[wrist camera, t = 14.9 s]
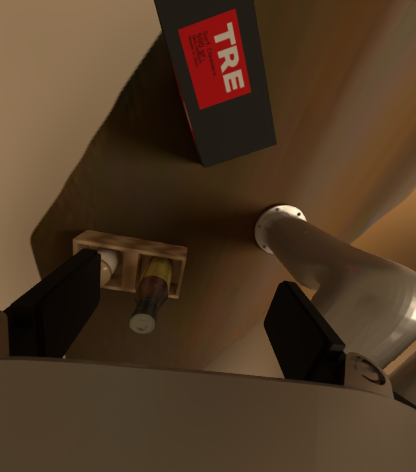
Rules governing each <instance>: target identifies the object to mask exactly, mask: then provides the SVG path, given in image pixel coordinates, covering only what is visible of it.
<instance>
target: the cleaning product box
mask: <svg viewBox="0 0 416 472" xmlns="http://www.w3.org/2000/svg"><path fill="white" fill-rule="evenodd" d="M154 3H155V6H156V10H157V14H158V18H159V21H160V25H161V29H162V33H163V36H164V40H165V44H166V48H167V51H168V55H169V59H170V63H171V66H172V70H173V74H174V77H175V80H176V84H177V87H178V90H179V94H180V97H181V100H182V104H183V107H184V110H185V114H186V117H187V120H188V124H189V127H190V130H191V133H192V137H193V140H194V143H195V147H196V150H197V153H198V157H199V160H200V163H201V165H202V166H203V167H204V168H206V167H209V166H212V165H215V164H218V163H221V162H224V161H227V160H230V159H233V158H236V157H239V156H243V155H246V154H249V153H252V152H255V151H258V150H261V149H264V148H267V147H270V146H273V145H276V144H277V143H276V137H275V131H274V124H273V118H272V112H271V106H270V100H269V93H268V87H267V81H266V75H265V68H264V62H263V56H262V50H261V44H260V37H259V31H258V25H257V19H256V13H255V6H254V0H154Z"/></svg>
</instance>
